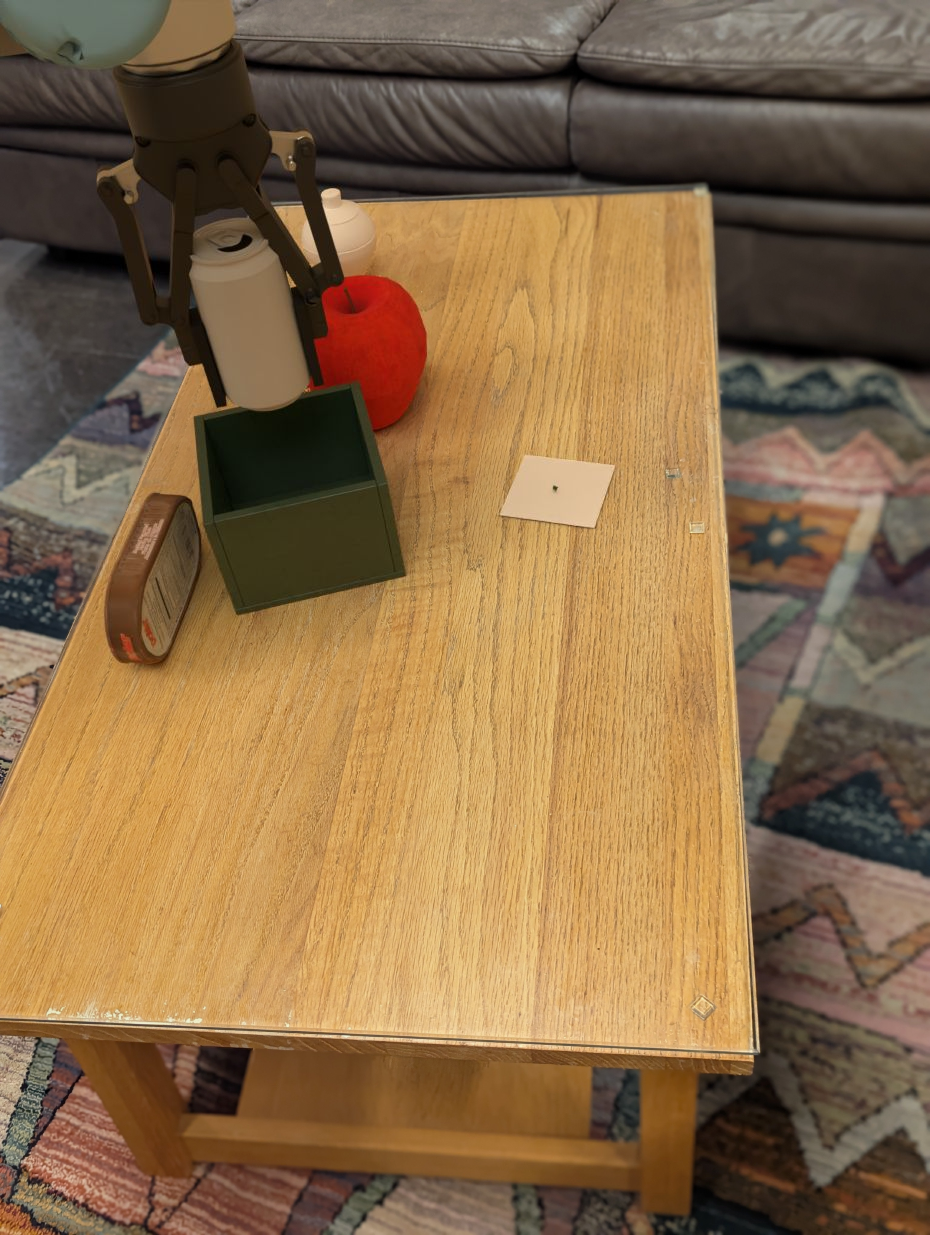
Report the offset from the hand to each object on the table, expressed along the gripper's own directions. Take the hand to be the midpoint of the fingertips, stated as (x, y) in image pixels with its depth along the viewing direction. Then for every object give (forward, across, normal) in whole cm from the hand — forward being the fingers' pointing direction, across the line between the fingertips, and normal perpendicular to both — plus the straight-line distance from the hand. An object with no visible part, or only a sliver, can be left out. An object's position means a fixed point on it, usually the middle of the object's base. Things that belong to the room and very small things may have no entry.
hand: (268, 385), depth 78 cm
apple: (+15, -8, -15) cm, 23 cm away
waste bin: (+15, 0, 0) cm, 15 cm away
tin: (+15, +12, +5) cm, 20 cm away
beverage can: (+1, 0, 0) cm, 1 cm away
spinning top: (+16, -9, -36) cm, 40 cm away
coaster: (+15, -21, +1) cm, 26 cm away
